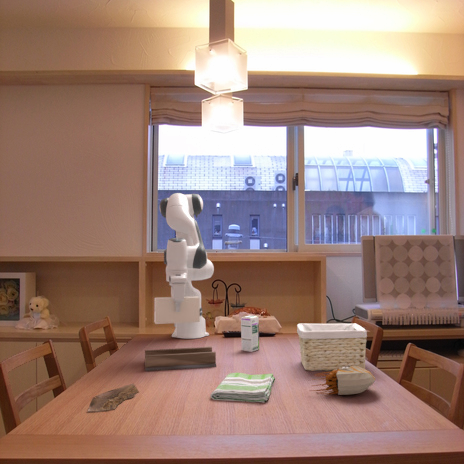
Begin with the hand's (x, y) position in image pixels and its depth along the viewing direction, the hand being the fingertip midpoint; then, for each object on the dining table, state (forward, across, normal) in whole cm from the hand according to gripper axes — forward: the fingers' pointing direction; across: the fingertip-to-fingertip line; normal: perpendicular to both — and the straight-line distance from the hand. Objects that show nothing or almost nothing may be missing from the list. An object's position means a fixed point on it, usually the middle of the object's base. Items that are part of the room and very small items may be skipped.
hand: (177, 310), depth 177 cm
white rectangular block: (+5, 0, 0) cm, 5 cm away
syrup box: (+19, -4, +32) cm, 37 cm away
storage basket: (+19, +28, +55) cm, 65 cm away
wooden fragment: (+19, +45, -22) cm, 54 cm away
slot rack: (+18, +13, 0) cm, 23 cm away
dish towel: (+19, +46, +17) cm, 53 cm away
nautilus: (+18, +56, +45) cm, 74 cm away
